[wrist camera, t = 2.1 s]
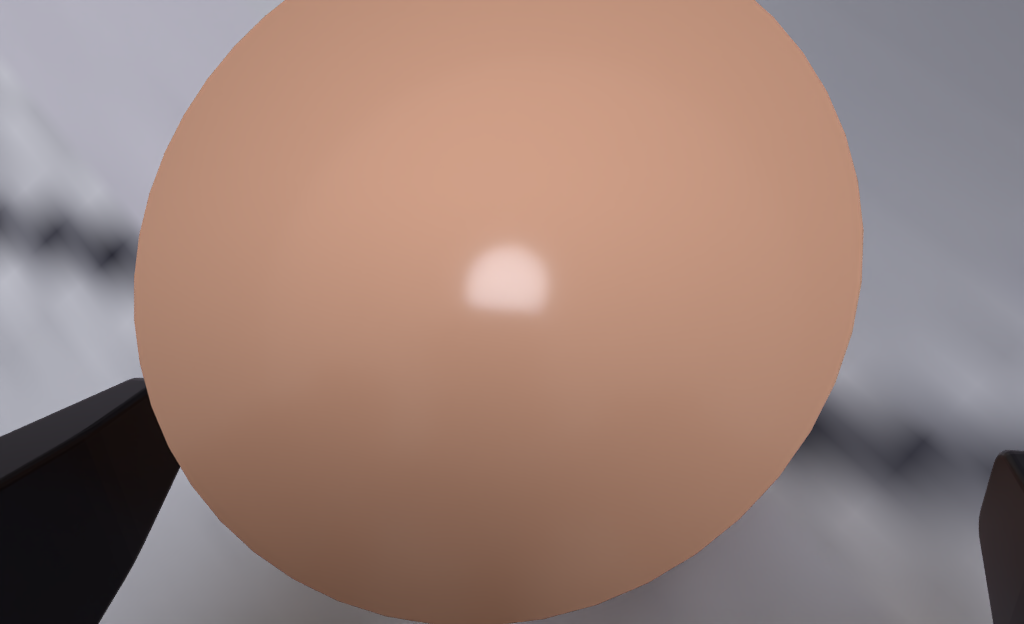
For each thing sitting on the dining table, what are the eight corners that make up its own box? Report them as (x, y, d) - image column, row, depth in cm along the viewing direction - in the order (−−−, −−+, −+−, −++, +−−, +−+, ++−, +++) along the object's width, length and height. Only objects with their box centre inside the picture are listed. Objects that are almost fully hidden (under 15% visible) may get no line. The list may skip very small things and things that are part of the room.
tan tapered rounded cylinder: (788, 521, 17) (1019, 458, 5) (538, 607, 17) (214, 737, 6) (687, 283, 18) (681, -186, 7) (462, 370, 19) (84, 73, 7)
